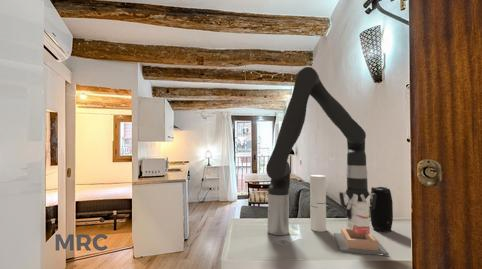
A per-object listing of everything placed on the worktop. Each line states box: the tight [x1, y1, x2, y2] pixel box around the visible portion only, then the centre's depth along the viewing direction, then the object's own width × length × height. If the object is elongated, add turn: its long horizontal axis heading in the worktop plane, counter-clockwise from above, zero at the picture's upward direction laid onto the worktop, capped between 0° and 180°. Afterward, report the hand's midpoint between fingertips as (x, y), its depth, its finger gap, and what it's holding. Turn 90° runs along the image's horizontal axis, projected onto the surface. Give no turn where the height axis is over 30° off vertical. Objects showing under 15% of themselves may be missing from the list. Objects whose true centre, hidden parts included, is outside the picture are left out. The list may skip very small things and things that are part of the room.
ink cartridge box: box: [346, 194, 371, 234], centre depth 99 cm, size 9×5×15 cm, turn 5°
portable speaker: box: [369, 186, 394, 233], centre depth 117 cm, size 9×9×20 cm
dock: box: [333, 227, 390, 256], centre depth 99 cm, size 16×18×4 cm
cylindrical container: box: [309, 174, 327, 232], centre depth 118 cm, size 7×7×25 cm
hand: (357, 218), depth 99 cm, fingers closed on ink cartridge box, 6 cm apart
